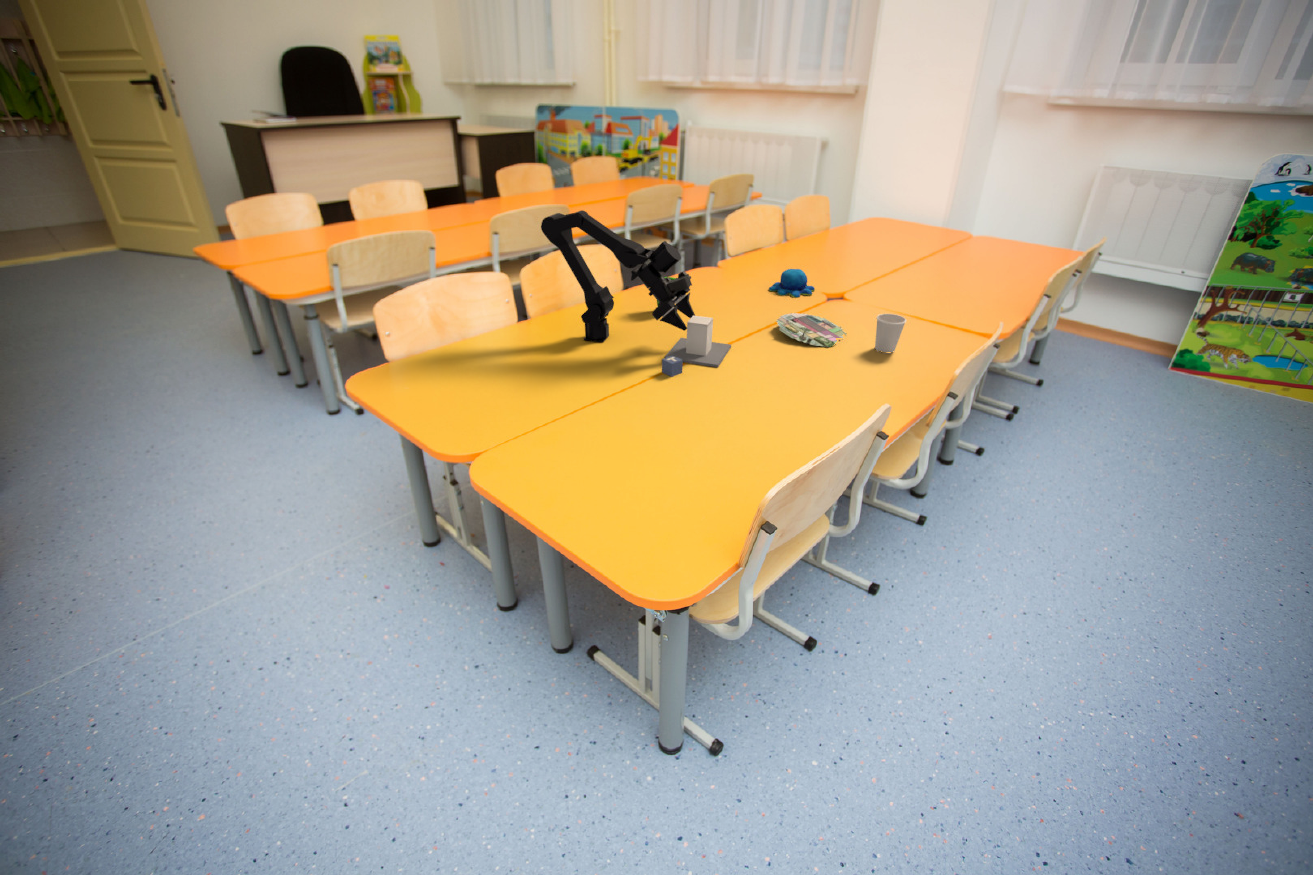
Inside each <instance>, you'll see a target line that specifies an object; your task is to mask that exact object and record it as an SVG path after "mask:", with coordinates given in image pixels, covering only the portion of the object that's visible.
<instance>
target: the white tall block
mask: <svg viewBox="0 0 1313 875" xmlns="http://www.w3.org/2000/svg"><path fill="white" fill-rule="evenodd" d="M686 323H687V324H686V327H687V329H686V338H687V344H686V353H690V354H696V355H703V356H706V355H707V354H708V352H709V351H710V349H711V344H712V342H713V341H712V340H713V325H714V318H713V317H710V316H709V317H707V316H700V315H695V316H694V315H693V316H692V317H691V319H690V318H689V319H688V321H687V322H686Z"/></svg>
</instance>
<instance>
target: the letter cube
mask: <svg viewBox="0 0 1313 875" xmlns="http://www.w3.org/2000/svg"><path fill="white" fill-rule="evenodd" d="M683 363H684V362H683V360H682V359H679V358H677V357H675V356H670V357H667V358H662V359H661V373H662V374H665V375H666V376H669V377H671V378H673V377H675V376H678V375H680V374H683Z"/></svg>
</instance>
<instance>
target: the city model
mask: <svg viewBox="0 0 1313 875" xmlns="http://www.w3.org/2000/svg"><path fill="white" fill-rule="evenodd" d="M775 322H776V323H777V325H778V326H779V327H778V328H779V329H778V331H780V332H782V333H783V334H785V335H786V336H788V337H789V338H791V339H795V340H796V341H798V342H803V343H804V344H809V345H810V346H811V345H812V346H816V347H817V346H820V347H824V348H825V347H827V348H832V347H831V346H833V345H834V344H835V343H836V342H837V340H836V338H843V336H842V335H843V334H845V335H847V333H846V332H845V331H844V329H843V328H842V327H841V326H839V325H837V324H835V323H833V322H832V321H830V320H829V319H827V318H825V317H821V316H818V315H813V314H808V313H807V314H806V313H796V312H794V313H792V312H791V313H786V314H783V315H781V316H779V317H778V318H777V319H776V320H775ZM843 339H844V338H843ZM836 345H837V344H835V345H834V346H836ZM834 346H833V347H834Z"/></svg>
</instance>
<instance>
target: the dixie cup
mask: <svg viewBox="0 0 1313 875" xmlns="http://www.w3.org/2000/svg"><path fill="white" fill-rule="evenodd" d="M906 323H907V319H906V318H905V317H904V316H902V315H899V314H895V313H894V314H893V313H881V314H880V313H879V314H878V315H876V329H875V330H876V331H875V341H874V342H875V343H874V350H875V349H876V350H877V351H876V350H875V351H876V352H878V351H882V352H893V351H894V352H895V351H896V348H897V345H898V342H899V339H900V338H901V335H902V332H903V330H904V327H905V325H906ZM894 352H893V353H894Z"/></svg>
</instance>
